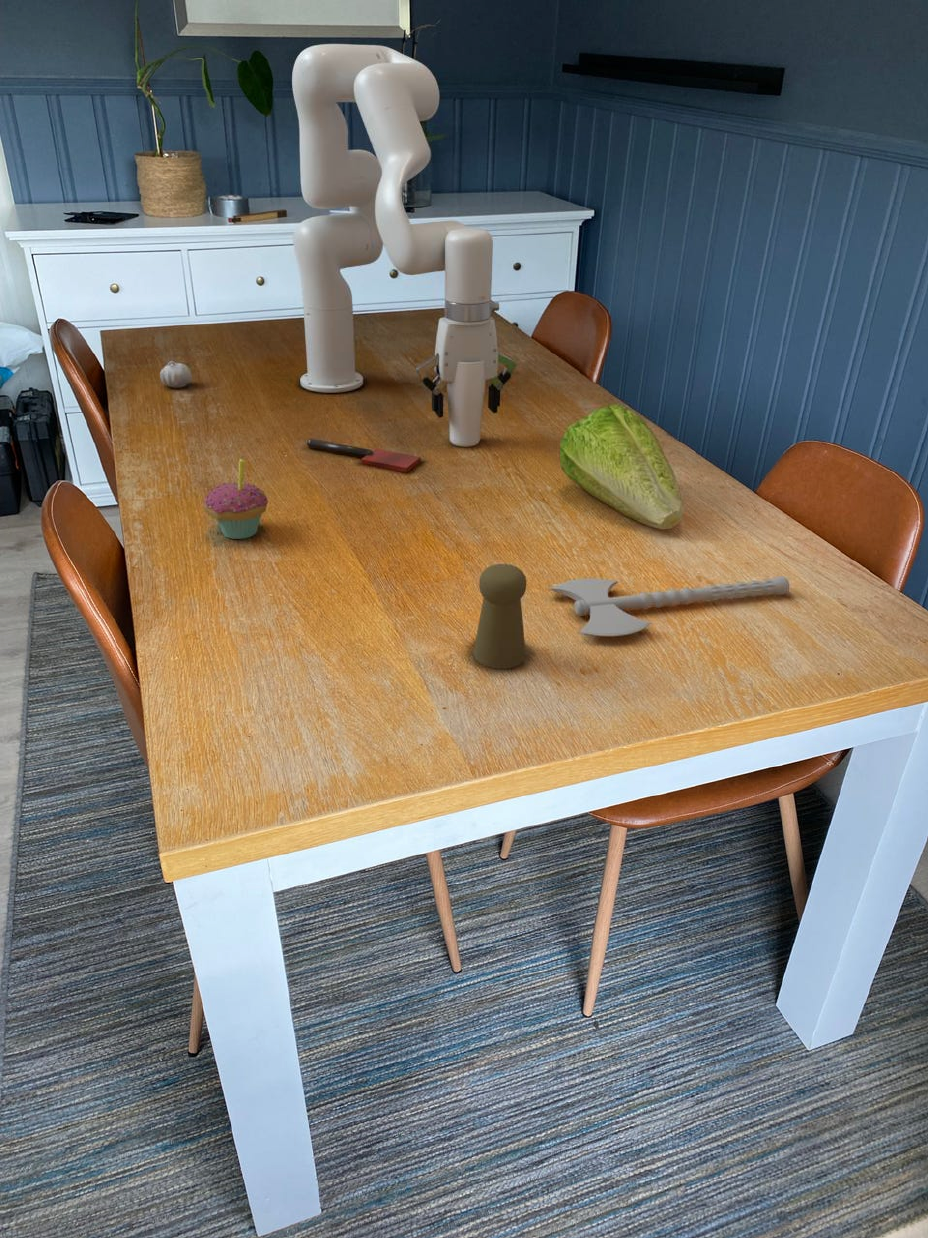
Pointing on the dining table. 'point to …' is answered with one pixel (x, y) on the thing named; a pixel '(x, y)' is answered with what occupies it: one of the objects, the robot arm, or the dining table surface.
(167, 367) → the garlic
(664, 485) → the lettuce
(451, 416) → the drinking glass
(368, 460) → the spatula
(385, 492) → the dining table surface
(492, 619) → the chess pawn
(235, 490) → the cupcake
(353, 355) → the robot arm
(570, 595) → the axe
